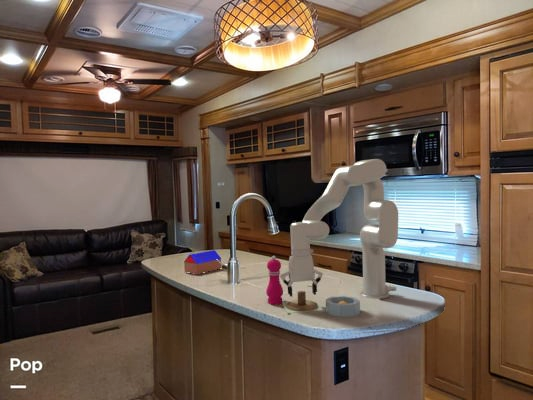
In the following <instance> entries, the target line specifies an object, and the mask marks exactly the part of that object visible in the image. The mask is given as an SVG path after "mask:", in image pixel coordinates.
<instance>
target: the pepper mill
mask: <svg viewBox="0 0 533 400" xmlns="http://www.w3.org/2000/svg"><path fill="white" fill-rule="evenodd" d="M281 267H282V263H281V261H280V260H279V259H277V257H276V256H275V255H273V256H271V259H270V260H268V261H267V264H266V268H267V270H268V276H269V281H268V285H267V287H266V291H265V292H266V296H267V297H268V298H267V304H269V305H280V304H282V302H283V297H282V296H283V295H284V289H283V286H282V285H281V284H282V283H281V281H280V275H281V269H282V268H281Z"/></svg>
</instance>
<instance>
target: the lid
mask: <svg viewBox="0 0 533 400" xmlns="http://www.w3.org/2000/svg"><path fill="white" fill-rule="evenodd" d="M306 292H307V291H303V290H299V291H297V300H292V301H291V300H290V301H287V302H288V303H287V304H286V307H287V308H288V309H290V310H294V311H308V312H310V311H309V310H314V309H316V308H317V307H318V305H319V304H318V303H317V301H316V302H314V300H308V299H307V300H306V298H307V297H306Z"/></svg>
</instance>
